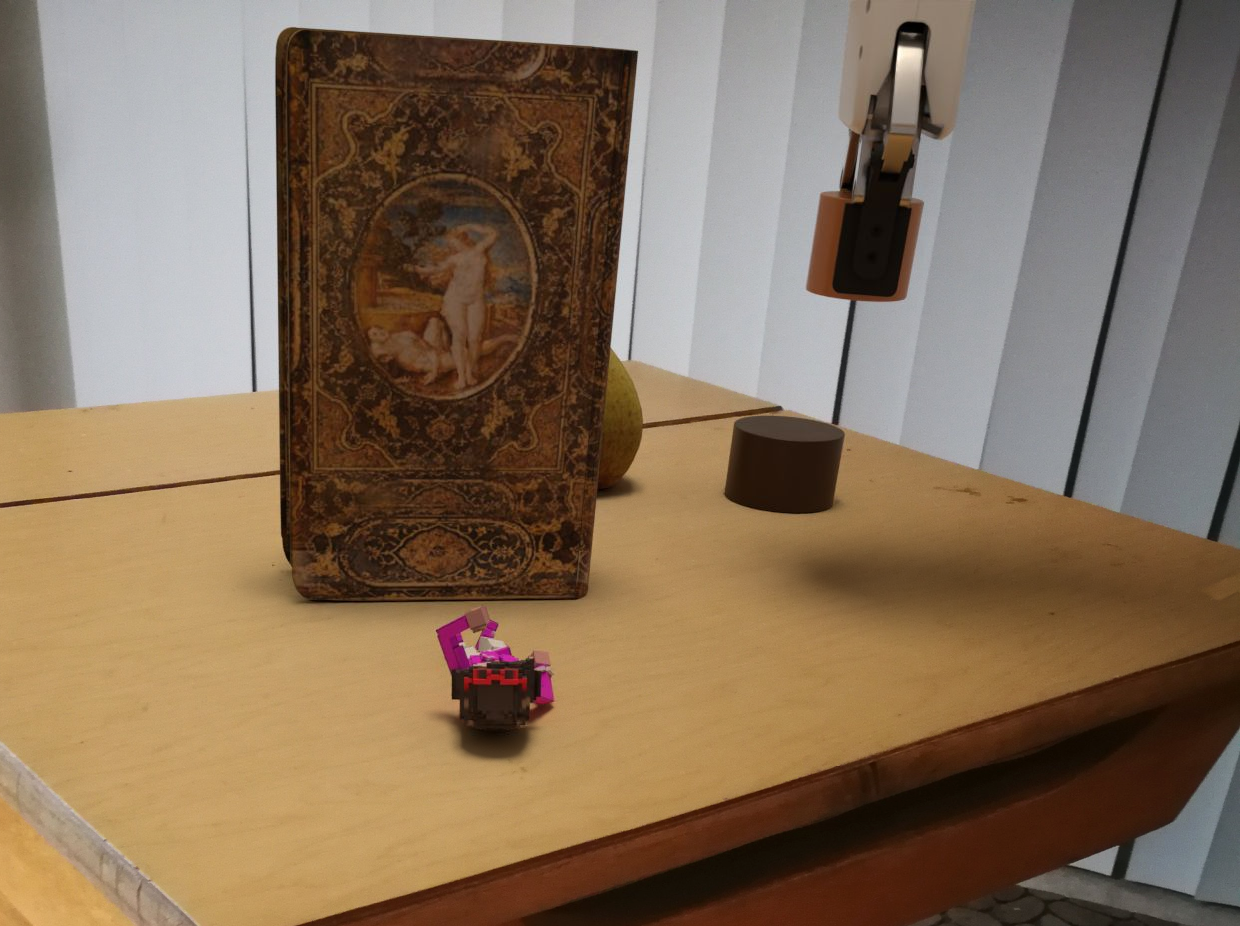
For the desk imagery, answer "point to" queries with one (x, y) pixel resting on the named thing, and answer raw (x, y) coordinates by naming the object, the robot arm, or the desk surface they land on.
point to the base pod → (784, 463)
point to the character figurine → (492, 675)
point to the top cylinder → (828, 245)
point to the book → (445, 309)
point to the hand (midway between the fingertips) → (858, 281)
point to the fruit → (619, 425)
